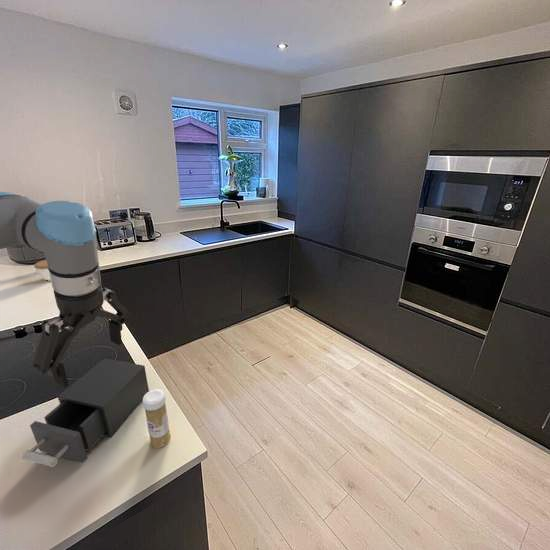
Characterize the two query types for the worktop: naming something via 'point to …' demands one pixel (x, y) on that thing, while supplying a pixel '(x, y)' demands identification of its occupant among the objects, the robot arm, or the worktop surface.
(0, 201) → the robot arm
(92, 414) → the drawer
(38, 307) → the worktop surface
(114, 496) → the worktop surface
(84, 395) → the cabinet
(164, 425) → the sprinkles bottle
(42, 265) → the lidded bowl
